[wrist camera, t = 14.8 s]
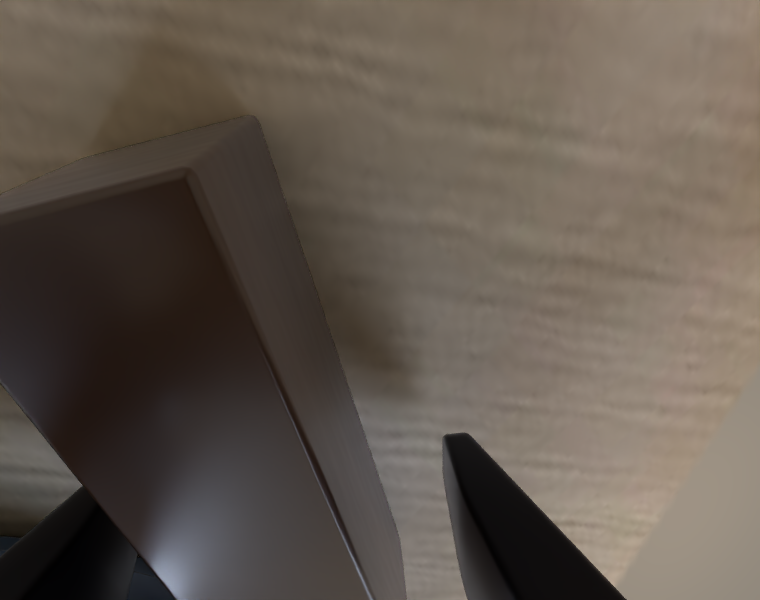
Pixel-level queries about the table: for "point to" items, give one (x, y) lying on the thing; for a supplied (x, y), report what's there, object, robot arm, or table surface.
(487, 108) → the table surface
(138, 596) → the bowl
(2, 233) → the dark brown block
